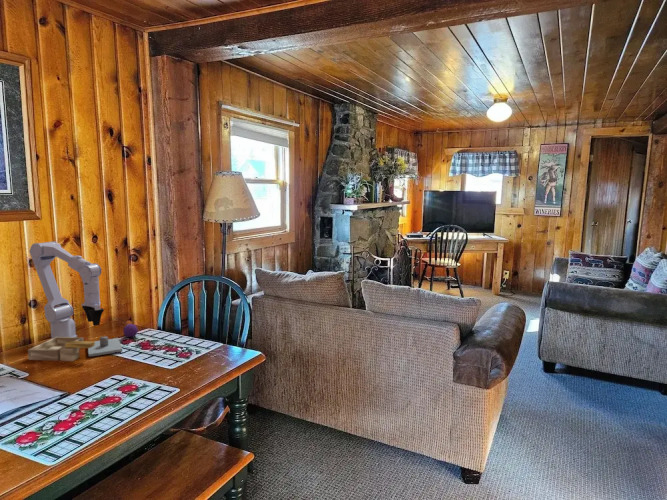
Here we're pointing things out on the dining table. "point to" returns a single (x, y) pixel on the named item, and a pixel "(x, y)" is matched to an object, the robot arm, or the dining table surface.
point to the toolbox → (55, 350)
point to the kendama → (130, 329)
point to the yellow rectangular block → (80, 344)
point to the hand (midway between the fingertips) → (93, 323)
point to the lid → (105, 346)
